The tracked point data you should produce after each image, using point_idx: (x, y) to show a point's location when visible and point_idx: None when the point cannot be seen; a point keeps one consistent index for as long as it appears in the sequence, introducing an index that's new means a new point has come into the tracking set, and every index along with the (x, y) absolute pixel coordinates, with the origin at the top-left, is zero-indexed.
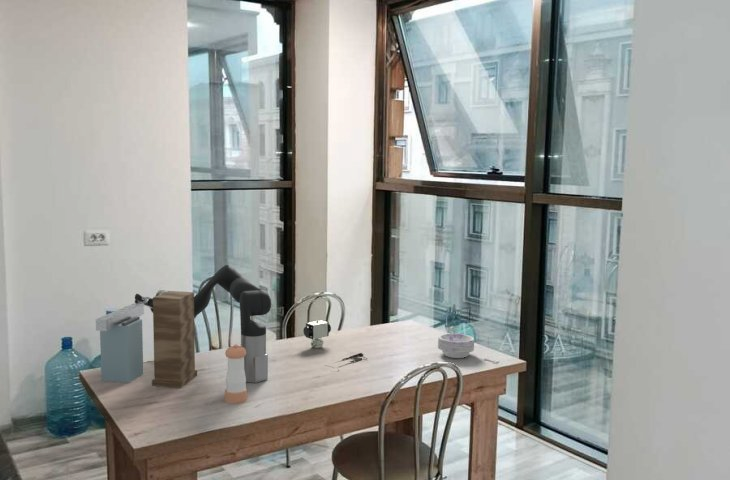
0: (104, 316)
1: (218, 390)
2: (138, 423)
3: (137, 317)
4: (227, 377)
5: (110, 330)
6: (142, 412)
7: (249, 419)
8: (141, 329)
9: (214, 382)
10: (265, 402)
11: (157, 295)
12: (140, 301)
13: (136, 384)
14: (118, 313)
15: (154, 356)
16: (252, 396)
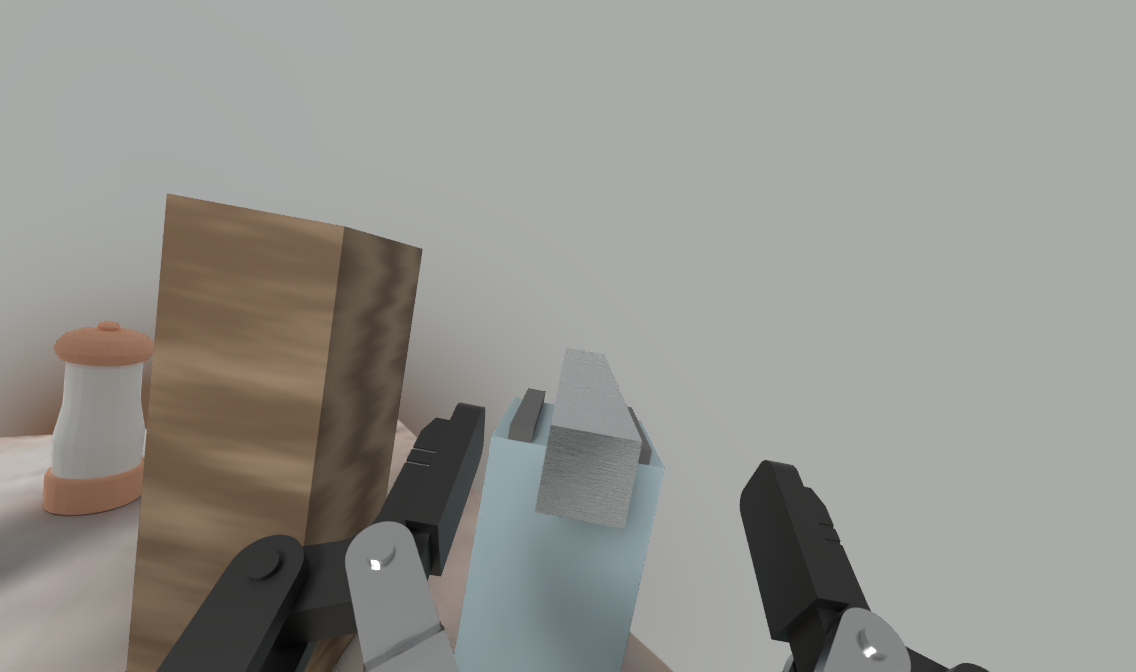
0: (598, 359)
1: (108, 552)
2: (396, 448)
3: (515, 418)
4: (143, 420)
5: None
6: (393, 472)
7: (145, 433)
8: (484, 487)
9: (59, 625)
10: (2, 478)
11: (464, 405)
12: (769, 630)
13: (444, 607)
14: (574, 364)
15: (384, 490)
16: (4, 509)
